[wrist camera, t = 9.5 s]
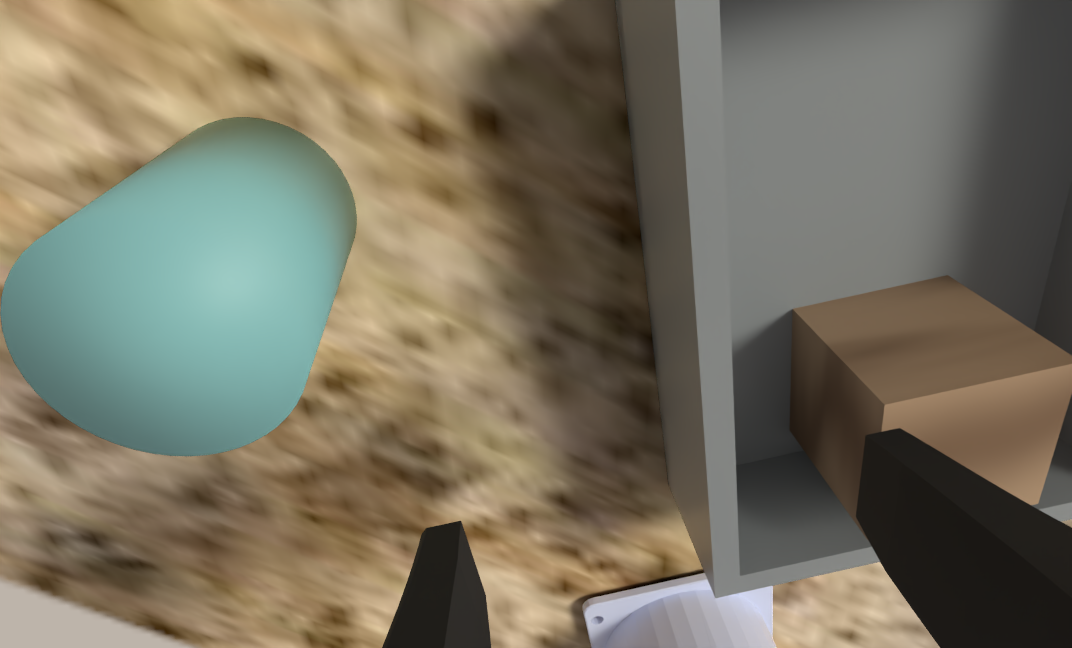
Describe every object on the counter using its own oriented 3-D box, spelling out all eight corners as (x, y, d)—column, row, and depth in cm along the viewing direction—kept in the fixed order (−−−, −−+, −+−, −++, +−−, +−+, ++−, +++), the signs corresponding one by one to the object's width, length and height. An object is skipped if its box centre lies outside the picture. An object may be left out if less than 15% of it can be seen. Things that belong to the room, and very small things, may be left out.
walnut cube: (927, 399, 23) (1038, 503, 19) (789, 430, 23) (868, 541, 18) (947, 274, 20) (1081, 361, 16) (792, 308, 20) (884, 405, 16)
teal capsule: (380, 273, 19) (347, 424, 13) (211, 310, 19) (98, 479, 13) (319, 98, 16) (241, 183, 10) (124, 140, 16) (-68, 251, 10)
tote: (1020, 405, 24) (1142, 503, 20) (668, 483, 24) (715, 598, 20) (1166, -169, 15) (1442, -216, 11) (609, -48, 15) (671, -48, 11)
